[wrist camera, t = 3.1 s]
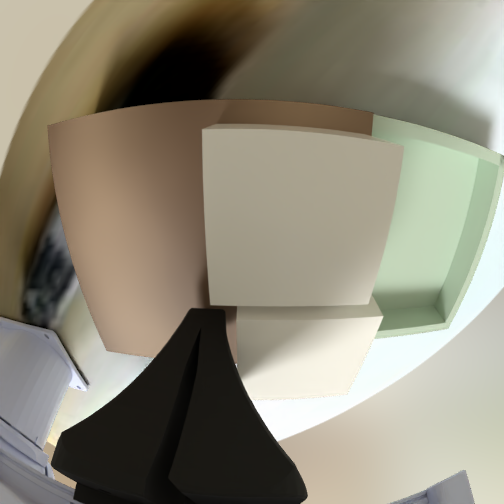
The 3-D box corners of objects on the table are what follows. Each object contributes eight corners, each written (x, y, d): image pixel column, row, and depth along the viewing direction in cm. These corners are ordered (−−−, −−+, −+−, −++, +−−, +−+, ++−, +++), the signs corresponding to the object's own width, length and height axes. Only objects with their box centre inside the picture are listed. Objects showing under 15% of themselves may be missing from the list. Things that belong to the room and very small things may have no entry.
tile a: (239, 354, 12) (238, 399, 10) (239, 271, 10) (236, 319, 8) (335, 351, 12) (347, 394, 10) (359, 272, 10) (383, 316, 8)
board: (127, 308, 15) (106, 351, 12) (93, 117, 10) (47, 125, 7) (311, 315, 15) (323, 361, 12) (340, 110, 10) (373, 112, 7)
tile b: (218, 258, 10) (210, 305, 7) (216, 123, 7) (202, 129, 5) (344, 260, 10) (368, 304, 7) (364, 134, 7) (404, 146, 5)
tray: (311, 315, 15) (318, 342, 14) (340, 110, 10) (358, 111, 8) (433, 307, 16) (447, 328, 14) (480, 147, 10) (506, 157, 8)
